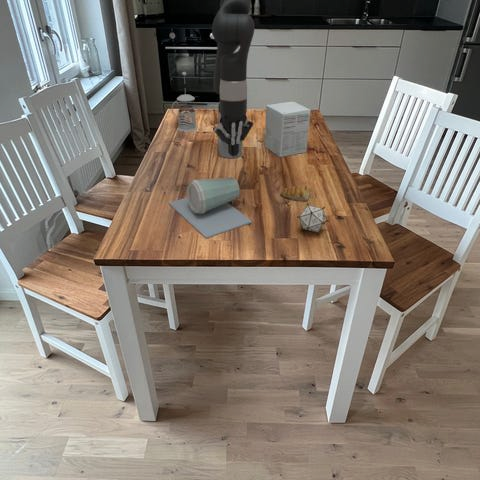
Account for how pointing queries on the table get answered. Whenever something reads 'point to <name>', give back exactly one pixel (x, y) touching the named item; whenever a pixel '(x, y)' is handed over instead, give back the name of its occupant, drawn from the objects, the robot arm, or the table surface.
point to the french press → (186, 113)
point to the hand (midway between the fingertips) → (233, 155)
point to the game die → (312, 218)
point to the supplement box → (287, 128)
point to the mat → (211, 218)
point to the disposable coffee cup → (211, 193)
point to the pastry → (296, 193)
